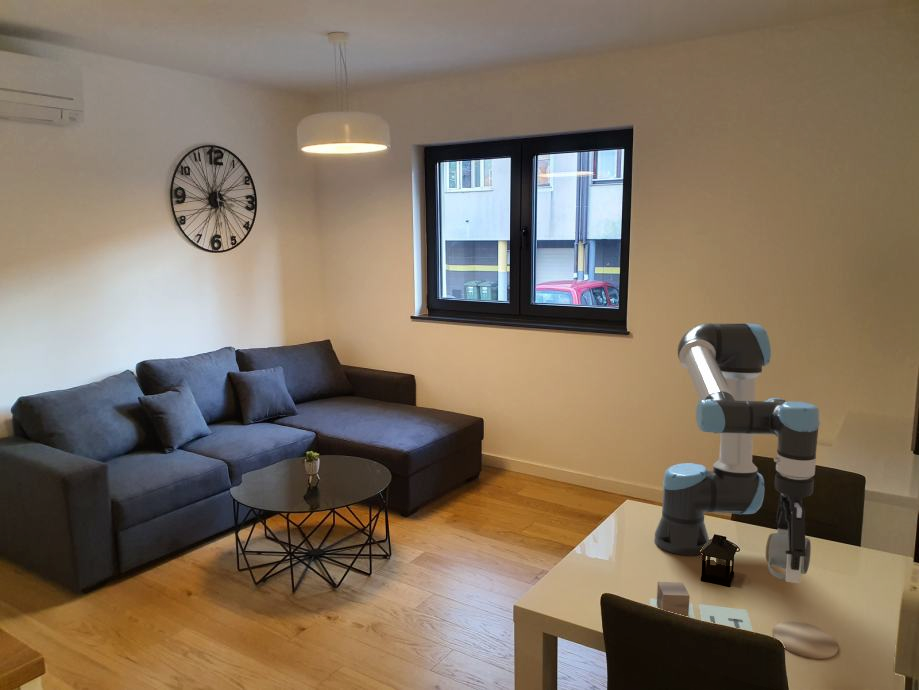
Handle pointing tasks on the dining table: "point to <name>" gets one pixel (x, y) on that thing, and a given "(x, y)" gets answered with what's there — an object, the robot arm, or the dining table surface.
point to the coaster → (806, 640)
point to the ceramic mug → (783, 553)
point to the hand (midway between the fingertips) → (787, 568)
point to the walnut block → (673, 597)
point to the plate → (691, 613)
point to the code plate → (726, 616)
